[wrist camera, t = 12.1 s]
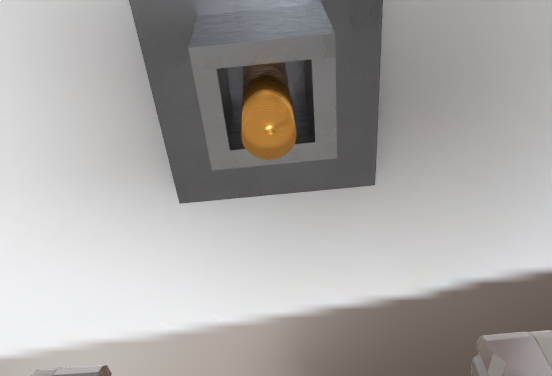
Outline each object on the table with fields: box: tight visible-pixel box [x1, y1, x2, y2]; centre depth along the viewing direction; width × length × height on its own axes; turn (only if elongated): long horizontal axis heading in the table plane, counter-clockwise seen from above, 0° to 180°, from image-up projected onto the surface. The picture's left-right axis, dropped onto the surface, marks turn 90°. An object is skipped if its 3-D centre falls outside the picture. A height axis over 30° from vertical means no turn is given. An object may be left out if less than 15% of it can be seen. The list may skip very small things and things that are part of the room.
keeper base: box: [129, 0, 383, 203], centre depth 23 cm, size 12×16×8 cm
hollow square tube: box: [188, 3, 337, 170], centre depth 23 cm, size 6×6×4 cm
